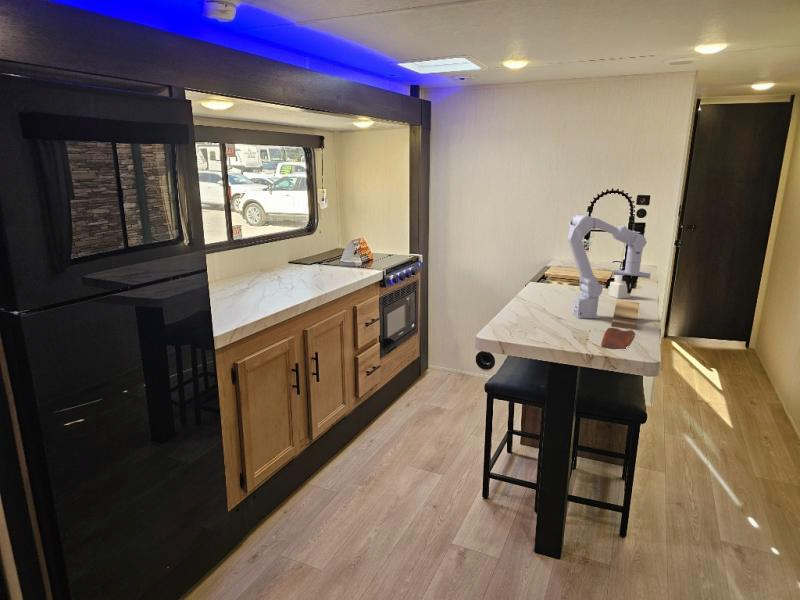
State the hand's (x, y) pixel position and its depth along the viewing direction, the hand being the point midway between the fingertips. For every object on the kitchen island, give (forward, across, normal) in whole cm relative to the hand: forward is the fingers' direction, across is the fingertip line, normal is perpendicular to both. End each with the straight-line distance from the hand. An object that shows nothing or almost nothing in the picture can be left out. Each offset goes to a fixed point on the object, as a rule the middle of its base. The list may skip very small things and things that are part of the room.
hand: (629, 292), depth 225 cm
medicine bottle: (+11, +5, -37) cm, 39 cm away
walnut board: (+10, 0, +16) cm, 19 cm away
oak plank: (+8, 0, +5) cm, 9 cm away
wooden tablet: (+11, +1, +37) cm, 38 cm away
